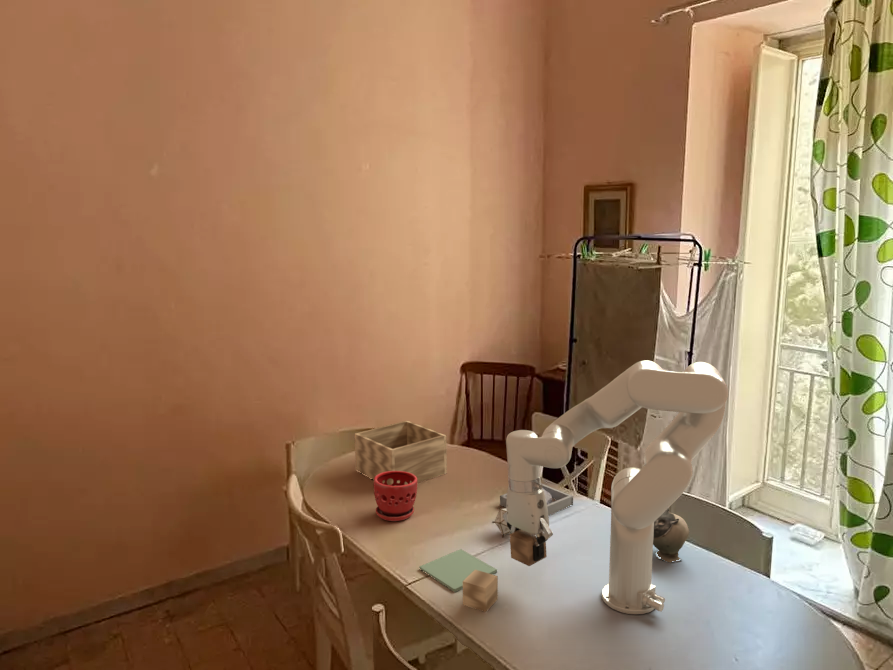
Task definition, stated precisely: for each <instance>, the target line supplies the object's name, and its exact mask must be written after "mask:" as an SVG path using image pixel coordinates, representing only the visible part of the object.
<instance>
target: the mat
mask: <svg viewBox="0 0 893 670" xmlns="http://www.w3.org/2000/svg"><path fill="white" fill-rule="evenodd" d="M419 568H420V569H421V570H423V571H424V572H426V573H427V574H429V575H430V576H432V577H433V578H435V579H436V580H437V581H436V580H435V579H434V580H435V581H436V582H438V581H439V582H440V583H439V582H438V583H439V584H441V583H442V584H441V585H443V586H444V585H445V587H446V586H447V587H448V589H449V590H450V589H451V590H450V591H452V592H453V591H454V593H456V592H458V590H459V591H460V590H463V589H462V588H463V581H464V580H465V579H466V578H467V577H468V576H469V575H470V574H471V573H472V572H473V571H474V570H478V571H482V572H485V573H489V574H492V575H495V574H497V573H498V569H497V568H495V567H493V566H491V565H490V564H488V563H486V562H484V561H483V560H481V559H479V558H478V557H476V556H474V555H472V554H471V553H469V552H467V551H466V550H463V549H462V548H460V549H457V550H455V551H453V552H451V553H448V554H445V555H443V556H441V557H438V558H436V559H434V560H431V561H429V562H426V563H425V564H422V565H420V566H419ZM420 569H419V570H420ZM421 570H420V571H421ZM423 571H422V572H423ZM424 572H423V573H424ZM426 573H425V574H426ZM427 574H426V575H427ZM429 575H428V576H429ZM430 576H429V577H430ZM432 577H431V578H432ZM433 578H432V579H433ZM447 587H446V588H447Z"/></svg>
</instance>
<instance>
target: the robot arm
mask: <svg viewBox="0 0 893 670" xmlns="http://www.w3.org/2000/svg"><path fill="white" fill-rule="evenodd" d="M728 389H729V388H728V385H727V384H726V381H725V380H724V378H723V377H722V374H721V373H720V371H719V370H718V369H717V368H716V367H715V366H713V364H711V363H708V362H704V361H697V362H694V363H691V364H690V365H688V366H687V367H686V368H685V369H684V370H683V371H682V372H681V371H669V370H664V369H663V368H662V367H661V366H660V365H659V364H658V363H656V362H654V361H652V360H648V359H647V360H645V359H644V360H640V361H637V362H635V363H634V364H633V365H631V366H629V367H628V368H627V369H625V371H623V372H622V373H620V374H619V375H618V376H617V377H615V378H613V380H611V381H610V382H609V383H608V384H606V385H605V386H603V387H602V388H601V389H599V390H598V391H597V392H595V393H594V394H593V395H591V396H589V397H587V398H586V399H584V400H583V401H581V402H579V403H578V404H576V405H574V406H573V407H571V408H570V409H569V410H567V411H566V412H565V413H563V414H562V415H560V416H559V417H558V418H556V419H555V420H553V422H552V423H550V424H549V425H548V426H547V427H546V428H545V429H544V431H543V433H542V434H541V436H538V434H537V433H536V432H534V431H532V430H527V429H519V430H514V431H512V432H510V433H508V434H507V436H506V438H505V445H506V459H507V460H506V461H507V477H508V479H507V481H508V486H507V492H506V493H507V503H506V507H505V508H506V509H507V512H506V513H505V514H504V515H503V518H504V520H505V522H506V523H507V526H508V528H509V529H510V534H512V533H514V532H516V531H518V530H520V529H521V530H524V531H526V532H529V533H531V535H532V538H533V541H534V544H535V545H533V559H534V561H538V560H540V559H542V558H544V543H545V542H546V543H547V541H548V540H549V539H550V538H551V537H552V536H553V535H554V532H553V531H552V530H551V528H550V518H549V517H550V516H548V508H547V502H546V498H545V494H544V491H543V490H542V487H543V485H542V484H543V483H542V481H541V467H544V468H549V469H560V468H561V469H562V468H563V467H565V466H567V464H568V463H569V462H570V460H571V458H572V451H573V447H574V446H575V445H576V444H578V443H579V442H580V441H582V440H583V439H584V438H586V437H587V436H588V435H590V434H591V433H593V432H595V431H598V430H599V429H613V428H615V427H618V426H619V425H620V424H622V423H623V422H624V421H625V420H627V419H629V418H630V417H631V416H632V415H634V414H635V413H636V412H638V411H639V410H640V409H642V408H644V409H647V410H654V411H662V412H663V411H664V412H675V413H677V414H676V415H675V417H674V418H673V419H672V420H671V421H670V423H669V424H668V425H667V426H666V427H665V428H664V429H663V430H662V431H661V432H660V433H659V434H658V435H657V436H656V437H655V438H654V439H653V440H652V441H651V442H649V444H648V445H647V447H646V449H645V450H644V453H643V454H644V455H643V462H644V466H642V468H638V467H625V468H623V469H622V470H620V471H619V472H617V474H616V475H615V476H614V477H613V480H612V482H611V489H610V495H611V497H610V498H611V499H610V502H611V504H610V535H609V536H610V537H609V539H610V540H609V570H608V583H607V584H606V585H604V586H603V587H602V590H601V599H602V601H603V602H604V603H605V605H606V606H608V607H610V608H611V609H613V610H615V611H617V612H620V613H622V614H629V615H643V614H644V615H645V614H648V613H650V612H652V611H654V610H657V611H658V612H660V613H661V612H662V611H663V610H664V608H665V604H664V603H665V601H666V599H665V598H664V597H663V596H661V595H658V594H657V592H656V585H654V584H652V578H653V577H652V575H653V574H652V573H653V556H654V555H653V551H654V550H653V549H654V545H653V538H654V521H656V520H657V519H658V518H659V517H660V516H661V515H662V514H663V513H664V512H665V511H666V510H667V509H669V508H670V507H671V506H672V505H673V504H674V503H675V502H676V501H677V500H678V499H679V498H680V497H681V496H682V495H683V494H684V492H685V491H686V490H687V489H688V487H689V486H690V483H691V482H692V479H693V464H692V462H693V460H694V458H696V457H697V455H698V454H699V453H700V452H701V451H702V450H703V449H704V447H706V445H707V444H708V443H709V442H710V440H712V438H713V437H714V436H715V434H716V433H717V431H718V430H719V428H720V426H721V424H722V422H723V419H724V416H725V412H726V411H725V410H726V402H727V400H728V397H729V390H728ZM541 483H542V484H541ZM510 534H509V535H510ZM537 534H539V536H540V538H539V539H538V537H537ZM544 559H545V558H544ZM542 560H543V559H542ZM540 561H541V560H540ZM538 562H539V561H538Z"/></svg>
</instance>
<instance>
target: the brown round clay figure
mask: <svg viewBox="0 0 893 670" xmlns="http://www.w3.org/2000/svg"><path fill="white" fill-rule="evenodd" d="M689 536H690V529H689V525H688V524H687V522H686V521H685V519H684V518H682V517H681V516H680V515H678V514H675V513H672V512H670V509H669V508H668V509H667V510H666V511H665V512H664V513H663V514H662V515H661V516H660V517H659V518H658V519H657V520H656V521H654V538H653V547H654V548H655V549H657V551H658V550H659V551H658V552H657V554H658V556H659V557H661V559H663V560H665V561H664V562H666V561H667V563H671V562H672V561H676V560H679V559H681V558H680V557H679V551H680V550H681V549H682V548H683V546H684V545H685V542H686V541H687V539H688V538H689Z"/></svg>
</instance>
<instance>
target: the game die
mask: <svg viewBox="0 0 893 670" xmlns="http://www.w3.org/2000/svg"><path fill="white" fill-rule="evenodd" d="M497 509H498V512H497V515H496V517H495V519H494V521H493V520H492V521H491V524H495V526H496V527H497V529H498V530H499V531H500V532H501V534H502V535H501V538H504V537H505V535H510V529H509V528H508V526H507V523H506V522H505V520H504V518H503V515H504V514H505V513H506V512H507V509H506V507H503V508H501V507H499V506H497Z"/></svg>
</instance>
